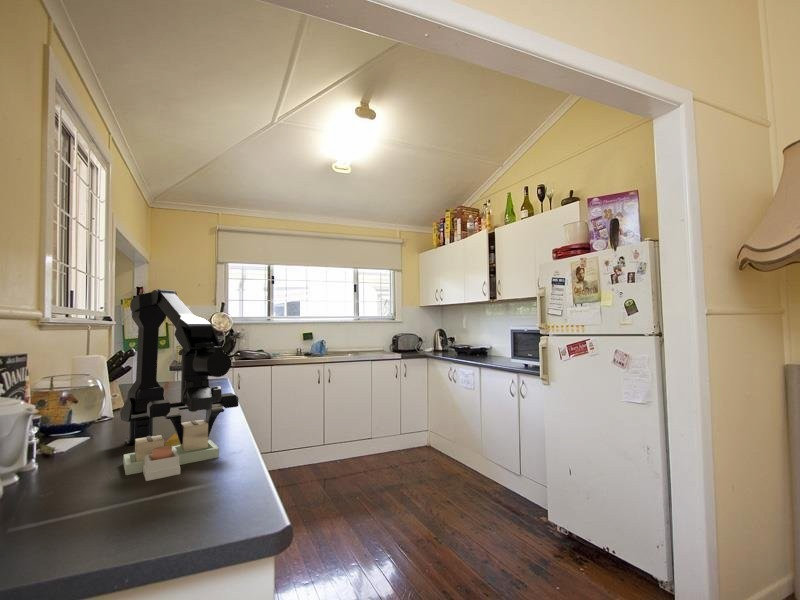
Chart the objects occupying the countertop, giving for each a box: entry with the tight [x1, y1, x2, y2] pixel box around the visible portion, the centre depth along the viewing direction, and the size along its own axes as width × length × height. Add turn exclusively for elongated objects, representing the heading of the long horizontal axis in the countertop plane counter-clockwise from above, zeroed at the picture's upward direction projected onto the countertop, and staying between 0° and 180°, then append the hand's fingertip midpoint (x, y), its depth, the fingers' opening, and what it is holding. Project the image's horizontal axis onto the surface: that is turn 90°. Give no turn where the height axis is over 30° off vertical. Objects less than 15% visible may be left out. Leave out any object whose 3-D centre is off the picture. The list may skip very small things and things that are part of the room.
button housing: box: [142, 450, 181, 482], centre depth 84 cm, size 6×6×4 cm
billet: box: [180, 419, 209, 451], centre depth 95 cm, size 5×5×6 cm
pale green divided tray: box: [122, 439, 220, 476], centre depth 93 cm, size 9×18×2 cm, turn 127°
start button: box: [152, 446, 172, 461], centre depth 85 cm, size 4×4×2 cm
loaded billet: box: [134, 434, 165, 462], centre depth 90 cm, size 5×5×6 cm
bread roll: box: [164, 432, 180, 446], centre depth 105 cm, size 8×9×4 cm
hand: (193, 441), depth 95 cm, fingers closed on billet, 5 cm apart
